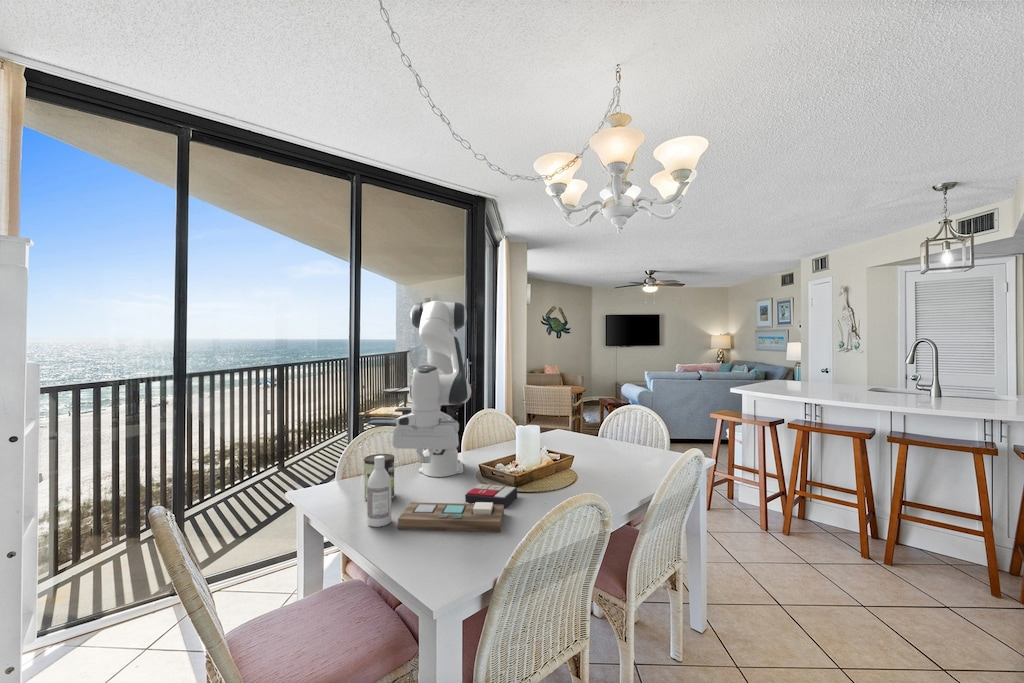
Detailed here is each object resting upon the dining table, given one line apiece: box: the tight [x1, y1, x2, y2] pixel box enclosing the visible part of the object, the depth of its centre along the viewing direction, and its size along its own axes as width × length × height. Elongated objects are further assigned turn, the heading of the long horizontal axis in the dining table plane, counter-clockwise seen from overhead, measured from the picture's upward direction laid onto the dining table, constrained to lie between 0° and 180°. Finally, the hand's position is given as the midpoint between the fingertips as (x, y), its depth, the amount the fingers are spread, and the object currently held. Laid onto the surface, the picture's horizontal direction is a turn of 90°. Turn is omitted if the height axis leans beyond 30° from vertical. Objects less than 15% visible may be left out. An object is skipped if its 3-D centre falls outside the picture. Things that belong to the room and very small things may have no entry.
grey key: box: [414, 505, 436, 513], centre depth 134 cm, size 6×6×2 cm
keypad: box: [397, 501, 505, 533], centre depth 132 cm, size 13×30×3 cm, turn 86°
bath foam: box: [366, 456, 392, 528], centre depth 131 cm, size 7×7×20 cm
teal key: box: [443, 505, 465, 514], centre depth 133 cm, size 6×6×2 cm
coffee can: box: [363, 453, 395, 501], centre depth 152 cm, size 10×10×14 cm
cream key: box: [473, 502, 493, 515], centre depth 133 cm, size 6×6×2 cm
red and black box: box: [464, 483, 518, 510], centre depth 150 cm, size 11×4×15 cm
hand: (425, 462), depth 134 cm, fingers closed
